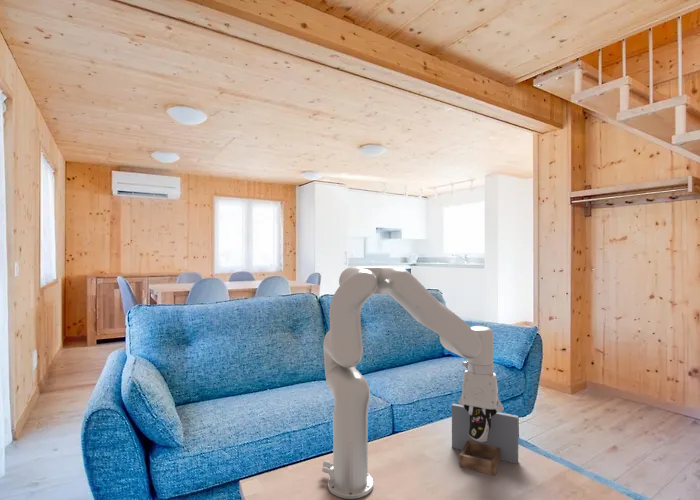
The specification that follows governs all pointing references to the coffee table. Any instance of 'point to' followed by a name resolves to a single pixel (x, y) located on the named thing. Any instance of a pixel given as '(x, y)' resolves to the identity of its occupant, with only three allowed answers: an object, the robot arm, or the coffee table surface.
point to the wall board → (499, 434)
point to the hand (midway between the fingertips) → (480, 427)
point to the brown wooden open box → (479, 463)
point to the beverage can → (480, 424)
